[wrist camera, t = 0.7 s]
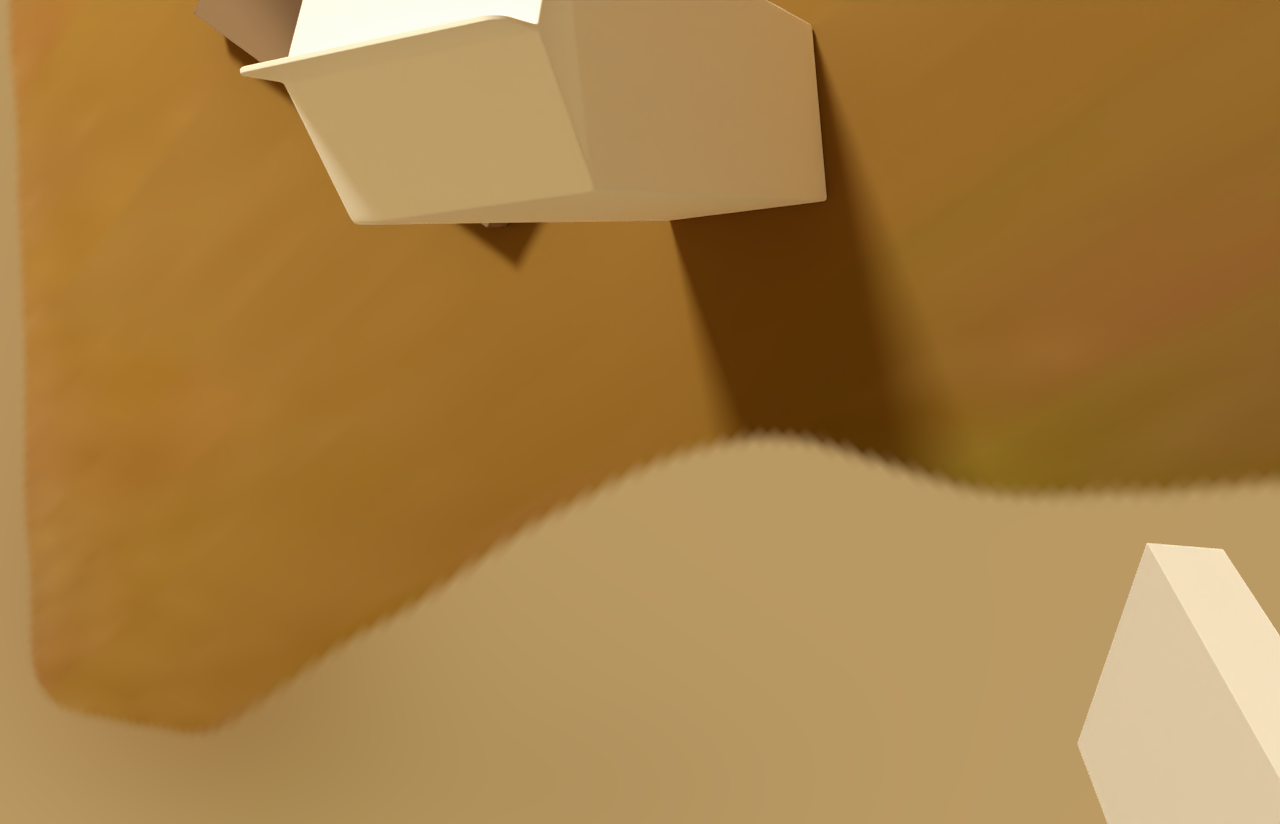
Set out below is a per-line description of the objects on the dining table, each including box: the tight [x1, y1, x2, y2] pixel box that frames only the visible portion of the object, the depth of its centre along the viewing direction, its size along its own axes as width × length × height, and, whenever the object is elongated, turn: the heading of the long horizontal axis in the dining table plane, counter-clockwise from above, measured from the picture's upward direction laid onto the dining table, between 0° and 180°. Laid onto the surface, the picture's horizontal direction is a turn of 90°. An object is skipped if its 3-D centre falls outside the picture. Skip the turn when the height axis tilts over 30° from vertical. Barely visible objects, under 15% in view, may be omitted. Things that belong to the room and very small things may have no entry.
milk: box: [240, 0, 827, 225], centre depth 32 cm, size 6×6×22 cm
